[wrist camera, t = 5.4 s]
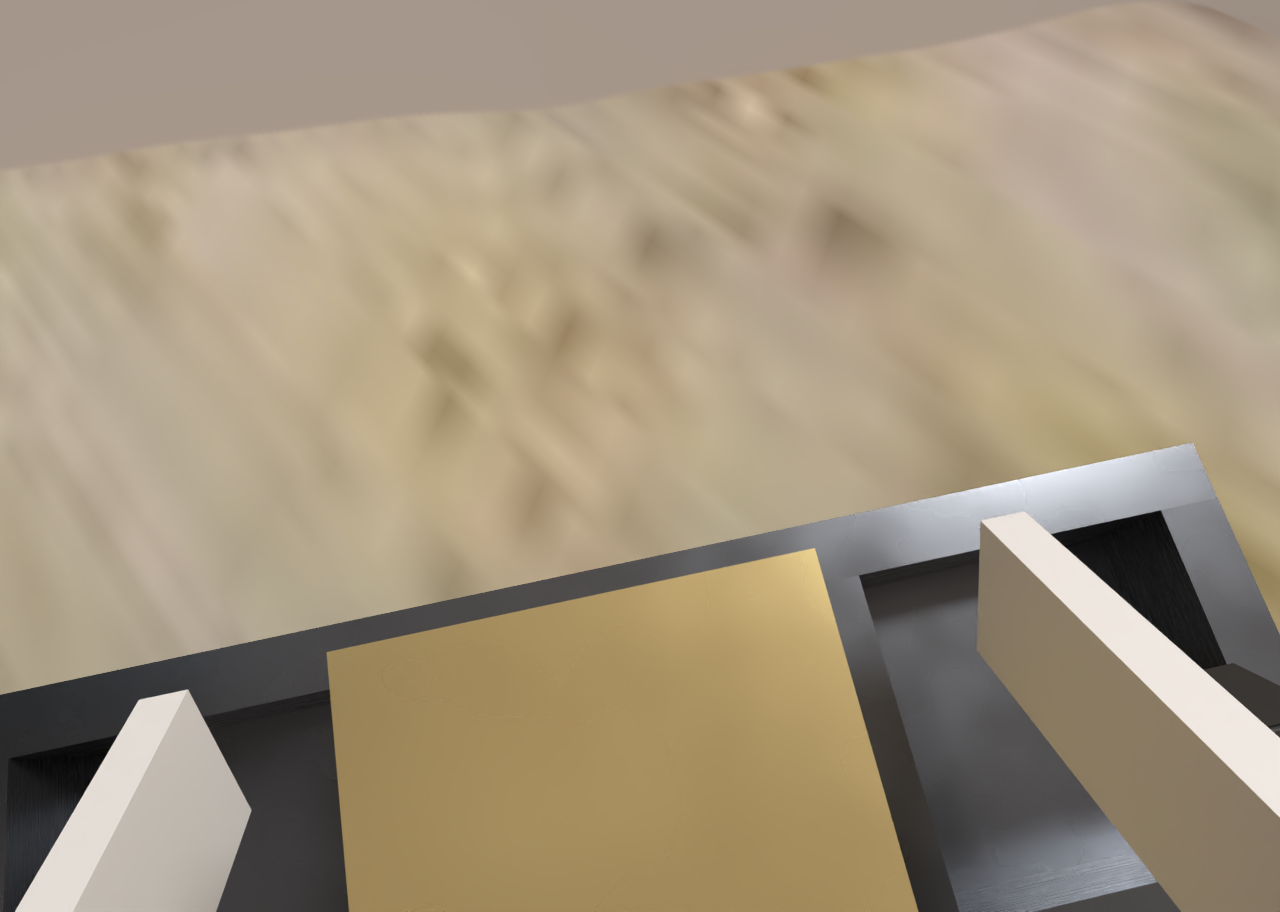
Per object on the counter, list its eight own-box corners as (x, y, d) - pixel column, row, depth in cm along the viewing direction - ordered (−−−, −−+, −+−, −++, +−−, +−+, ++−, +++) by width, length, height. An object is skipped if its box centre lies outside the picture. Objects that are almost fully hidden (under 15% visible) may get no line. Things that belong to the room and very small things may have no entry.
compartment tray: (41, 1179, 16) (-87, 1272, 14) (50, 711, 19) (-55, 706, 16) (1282, 879, 18) (1402, 905, 15) (1118, 483, 21) (1192, 442, 18)
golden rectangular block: (547, 948, 17) (381, 1275, 7) (508, 700, 19) (325, 651, 8) (783, 892, 17) (979, 1125, 7) (726, 652, 19) (814, 548, 8)
